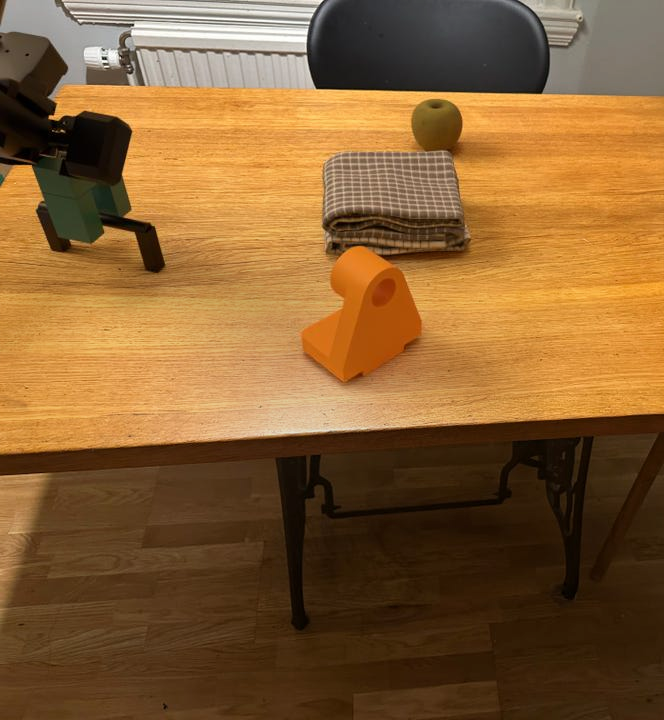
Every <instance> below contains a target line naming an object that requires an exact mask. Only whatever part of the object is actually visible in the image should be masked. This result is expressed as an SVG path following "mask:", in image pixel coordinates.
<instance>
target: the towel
mask: <svg viewBox="0 0 664 720" xmlns="http://www.w3.org/2000/svg"><path fill="white" fill-rule="evenodd" d="M321 178H322V188H323V195H322V202H321V203H322V209H321V210H322V212H321V213H322V214H321V217H322V218H321V228H322V229H323V237H324V248H323V249H324V251H325V254H328V255H335V256H339V257H340V256H341V255H342V254H343V253H344V252H346V251H347V250H348V249H350V248H352V247H355V246H363V247H366V248H367V249H369V250H371V251H372V252H374V253H375V254H377V255H378V256H393V255H402V254H411V253H414V254H415V253H419V252H421V253H424V252H425V253H426V252H463V251H464V252H465V251H466V250H467V249H468V246H469V244H470V243H471V242H472V236H471V234H470V231H469V229H468V226H467V222H466V220H465V212H464V208H463V204H462V203H463V201H462V198H461V191H460V185H459V184H460V180H459V178H458V173H457V170H456V168H455V163H454V158H453V155H452V153H451V152H450V151H448V150H444V151H435V152H434V151H431V152H430V151H390V150H385V151H384V150H380V151H379V150H378V151H356V150H355V151H354V150H352V151H350V150H349V151H348V150H347V151H339V152H336V153H335V154H333V155H332V156H330V157H329V158H328V159H326V160H325V162H324V163H323V165H322V175H321Z"/></svg>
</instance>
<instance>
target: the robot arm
mask: <svg viewBox="0 0 664 720" xmlns="http://www.w3.org/2000/svg"><path fill="white" fill-rule="evenodd" d="M7 1H8V0H0V26H2V22H3V18H4V14H5V9H6V5H7ZM68 71H69V66H68V64H67V62H66V61H65V60H64V59H63V57H62V56H61V55H60V53H59V51H58V50H57V49H56V47H55V46H54V45H53V43H52V41H51V40H50V39H49V38H48V37H46V36H42V35H36V34H31V33H26V32H20V31H9V32H1V31H0V164H1V165H5V166H32V165H33V164H37V163H38V161H39V160H41V159H43V158H44V157H46V156H47V157H52V158H57V157H58V155H59V152H60V153H63V154H62V155H61V158H62V163H61V167H60V171H59V175H60V176H64V177H69V178H74V179H79V180H86V181H89V182H94V183H99V184H104V185H109V186H115V185H116V184H118V183H119V182H120V181H121V177H122V176H123V172H124V167H125V163H126V160H127V156H128V152H129V147H130V143H131V139H132V135H133V129H132V128H131V126H130V125H129V123H127V122H125V121H124V120H123V119H121V118H120V117H119V116H116V115H115V116H114V115H110V114H105V113H101V112H94V111H89V110H85V109H84V110H83V111H81V112H79V113H78V114H76V115H69V114H66V115H62V116H61V117H60V118H59V119H58V120H57V119H52V118H50V117H54V116H55V115H56V114H55V113H56V109H57V106H58V102H55V101H54V100H53V99H51V98H49V97H50V96H51V95H52V94H53V92H54V91H55V90H56V88H57V86H58V85H59V83H60V81H61V80H62V78H63V77H64V76H67V73H68Z"/></svg>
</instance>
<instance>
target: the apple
mask: <svg viewBox="0 0 664 720" xmlns="http://www.w3.org/2000/svg"><path fill="white" fill-rule="evenodd" d="M463 122H464V121H463V116H462V113H461V110H460V109H459V107H458V106H457V105H456V104H455V103H453V102H452V101H450V100H447V99H442V98H429V99H425V100H423V101H421V102H419V103H418V104H417V105H416V106H415V108H414V109H413V111H412V113H411V118H410V126H411V132H412V135H413V137H414V139H415V141H416V142H417V144H418V145H419V147H421V148H422V149H423V150H425V151H426V152H429V151H430V152H431V151H434V152H435V151H448V150H450V149H451V148H453V147H454V146H455V145H457V143H458V142H459V139H460V138H461V135H462V131H463V126H464V125H463V124H464V123H463Z"/></svg>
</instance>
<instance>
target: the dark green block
mask: <svg viewBox="0 0 664 720" xmlns="http://www.w3.org/2000/svg"><path fill="white" fill-rule="evenodd" d="M62 154H63V153H60V152H59V155H58V157H57V158H52V157H47V156H46V157H44V158H43V159H41V160H39V161H38V163H37V164H33V165H31V169H32V172H33V174H34V176H35V180H36V182H37V184H38V188H39V190H40V193H41V196H42V198H43V201H45V204H46V206H47V209H48V212H49V214H50V217H51V219H52V222H53V225H54V227H55V230H56V233H57V235H58V237H60V238H65V239H69V240H70V241H74V242H80V243H83V244H89V245H93V244H94V243H95V242H96V241H98V240H99V239H100V238H101V237H102V236H103V235H104V234H106V232H105V228H104V226H102V222H101V219H100V216H99V213H98V212H100V213H105V214H110V215H115V216H119V217H124V218H125V216H127V214H129V213H130V212H131V211H132V210H133V208H132V205H131V201H130V198H129V194H128V191H127V187H126V184H125V180H124V177H123V175H122V177H121V181H120V182H119V183H118V184H116V185H115V186H109V185H104V184H99V183H94V182H89V181H86V180H79V179H74V178H69V177H64V176H60V175H59V171H60V167H61V163H62V158H61V155H62Z"/></svg>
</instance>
